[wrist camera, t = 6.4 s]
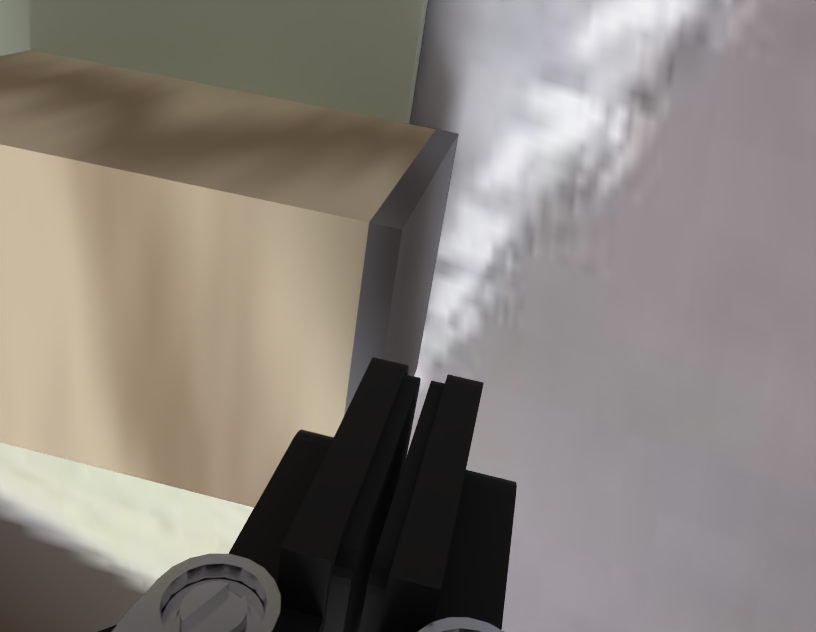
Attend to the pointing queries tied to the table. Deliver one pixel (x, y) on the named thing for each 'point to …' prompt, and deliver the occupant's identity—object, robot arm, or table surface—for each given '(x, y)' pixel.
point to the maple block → (200, 268)
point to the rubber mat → (241, 45)
